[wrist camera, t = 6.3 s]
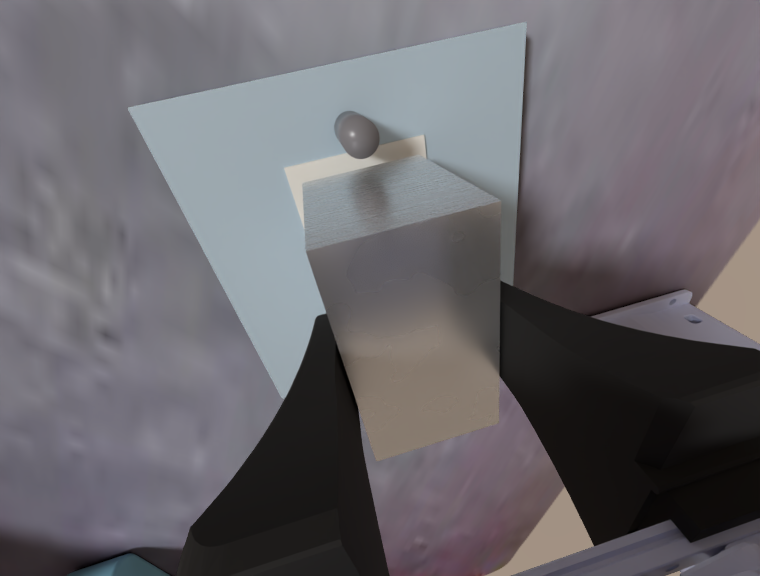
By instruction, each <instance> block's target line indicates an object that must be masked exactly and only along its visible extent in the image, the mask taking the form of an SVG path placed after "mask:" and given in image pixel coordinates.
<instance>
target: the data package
mask: <svg viewBox="0 0 760 576" xmlns="http://www.w3.org/2000/svg"><path fill="white" fill-rule="evenodd" d="M67 576H170V575H169V574H167V573H165V572H164V571H162V570H160V569H159V568H157V567H155V566H154V565H152V564H150V563H149V562H147V561H145V560H144V559H142V558H141V557H139V556H137V555H135V554H132V553H129V554H125V555H122V556H119V557H116V558H113V559H110V560H107V561H104V562H101V563H98V564H95V565H92V566H89V567H86V568H83V569H80V570H77V571H74V572H72V573H70V574H68V575H67Z"/></svg>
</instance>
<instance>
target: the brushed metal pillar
mask: <svg viewBox="0 0 760 576" xmlns="http://www.w3.org/2000/svg"><path fill="white" fill-rule="evenodd" d="M302 190H303V209H304V229H305V248H306V254H307V257H308V260H309V263H310V266H311V269H312V272H313V275H314V278H315V281H316V284H317V287H318V289H319V292H320V295H321V298H322V301H323V304H324V307H325V310H326V313H327V316H328V319H329V322H330V325H331V328H332V331H333V334H334V337H335V340H336V343H337V346H338V349H339V352H340V355H341V358H342V361H343V364H344V366H345V369H346V372H347V375H348V378H349V381H350V384H351V387H352V390H353V393H354V396H355V399H356V402H357V405H358V408H359V411H360V414H361V417H362V420H363V423H364V426H365V429H366V432H367V435H368V438H369V441H370V443H371V446H372V449H373V452H374V455H375V458H376V461H380V460H383V459H386V458H389V457H392V456H396V455H399V454H402V453H405V452H408V451H412V450H415V449H418V448H421V447H424V446H427V445H431V444H434V443H437V442H440V441H443V440H447V439H450V438H453V437H456V436H459V435H462V434H466V433H469V432H472V431H475V430H478V429H482V428H485V427H488V426H491V425H494V424H498V423H499V362H500V272H501V200H499V199H497V198H495V197H494V196H492V195H490V194H488V193H486V192H485V191H483V190H481V189H479V188H478V187H476V186H474V185H472V184H470V183H469V182H467V181H465V180H463V179H462V178H460V177H458V176H456V175H454V174H453V173H451V172H449V171H447V170H446V169H444V168H442V167H440V166H438V165H437V164H435V163H433V162H431V161H430V160H428V159H426V158H424V157H422V156H421V155H415V156H411V157H407V158H403V159H399V160H394V161H390V162H386V163H382V164H378V165H374V166H370V167H366V168H361V169H357V170H353V171H349V172H345V173H341V174H337V175H333V176H328V177H324V178H320V179H316V180H312V181H308V182H304V183H302Z"/></svg>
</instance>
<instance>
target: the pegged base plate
mask: <svg viewBox="0 0 760 576" xmlns="http://www.w3.org/2000/svg"><path fill="white" fill-rule="evenodd" d="M526 26H527V22H523V23H518V24H514V25H509V26H504V27H500V28H495V29H490V30H486V31H481V32H476V33H472V34H467V35H463V36H458V37H453V38H449V39H444V40H439V41H435V42H430V43H425V44H421V45H416V46H412V47H407V48H402V49H398V50H393V51H388V52H384V53H379V54H374V55H370V56H365V57H361V58H356V59H351V60H347V61H342V62H337V63H333V64H328V65H323V66H319V67H314V68H310V69H305V70H300V71H296V72H291V73H286V74H282V75H277V76H272V77H268V78H263V79H259V80H254V81H249V82H245V83H240V84H235V85H231V86H226V87H221V88H217V89H212V90H208V91H203V92H198V93H194V94H189V95H184V96H180V97H175V98H170V99H166V100H161V101H157V102H152V103H147V104H143V105H138V106H133V107H129V108H128V110H129V112H130V114H131V115H132V117H133V119H134V121H135V123H136V125H137V127H138V129H139V131H140V132H141V134H142V136H143V138H144V140H145V142H146V144H147V146H148V147H149V149H150V151H151V153H152V155H153V157H154V159H155V161H156V162H157V164H158V166H159V168H160V170H161V172H162V174H163V176H164V178H165V179H166V181H167V183H168V185H169V187H170V189H171V191H172V193H173V194H174V196H175V198H176V200H177V202H178V204H179V206H180V208H181V209H182V211H183V213H184V215H185V217H186V219H187V221H188V223H189V225H190V226H191V228H192V230H193V232H194V234H195V236H196V238H197V240H198V241H199V243H200V245H201V247H202V249H203V251H204V253H205V255H206V256H207V258H208V260H209V262H210V264H211V266H212V268H213V270H214V272H215V273H216V275H217V277H218V279H219V281H220V283H221V285H222V287H223V288H224V290H225V292H226V294H227V296H228V298H229V300H230V302H231V303H232V305H233V307H234V309H235V311H236V313H237V315H238V317H239V319H240V320H241V322H242V324H243V326H244V328H245V330H246V332H247V334H248V335H249V337H250V339H251V341H252V343H253V345H254V347H255V349H256V350H257V352H258V354H259V356H260V358H261V360H262V362H263V364H264V366H265V367H266V369H267V371H268V373H269V375H270V377H271V379H272V381H273V382H274V384H275V386H276V388H277V390H278V392H279V394H280V396H281V397H282V399H283V398H286V396H287V394H288V392H289V390H290V388H291V386H292V383H293V381H294V379H295V376H296V374H297V372H298V370H299V367H300V365H301V362H302V360H303V357H304V354H305V352H306V349H307V346H308V343H309V340H310V337H311V333H312V330H313V326H314V321H315V319H316V317H317V316H318V315H322V314H326V310H325V307H324V304H323V301H322V298H321V295H320V292H319V289H318V287H317V284H316V281H315V278H314V275H313V272H312V269H311V266H310V263H309V260H308V257H307V254H306V248H305V229H304V209H303V190H302V183H304V182H308V181H312V180H316V179H320V178H324V177H328V176H333V175H337V174H341V173H345V172H349V171H353V170H357V169H361V168H366V167H370V166H374V165H378V164H382V163H386V162H390V161H394V160H399V159H403V158H407V157H411V156H415V155H421V156H422V157H424V158H426V159H428V160H430V161H431V162H433V163H435V164H437V165H438V166H440V167H442V168H444V169H446V170H447V171H449V172H451V173H453V174H454V175H456V176H458V177H460V178H462V179H463V180H465V181H467V182H469V183H470V184H472V185H474V186H476V187H478V188H479V189H481V190H483V191H485V192H486V193H488V194H490V195H492V196H494V197H495V198H497V199H499V200H501V272H500V280H501V281H503V282H505V283H507V284H509V285H511V286H513V279H514V259H515V240H516V220H517V201H518V181H519V162H520V142H521V123H522V103H523V84H524V65H525V45H526Z"/></svg>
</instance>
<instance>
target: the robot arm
mask: <svg viewBox="0 0 760 576" xmlns="http://www.w3.org/2000/svg"><path fill="white" fill-rule="evenodd" d="M691 297H692V292H690V291H688V290H686V289H684V290H680V291H677V292H673V293H670V294H666V295H663V296H659V297H656V298H653V299H649V300H646V301H642V302H639V303H636V304H632V305H629V306H625V307H622V308H618V309H615V310H612V311H608V312H605V313H601V314H598V315H595V316H591V317H589V316H586V315H583V314H580V313H577V312H574V311H571V310H568V309H565V308H563V307H560V306H558V305H555V304H552V303H550V302H547V301H545V300H543V299H540V298H538V297H535V296H533V295H531V294H529V293H526V292H524V291H522V290H520V289H518V288H515V287H513V286H511V285H509V284H507V283H505V282H503V281H501V280H500V362H499V376H500V377H501V378H502V380H503V381H504V383H505V384H506V385H507V387H508V388H509V389H510V391H511V392H512V394H513V395H514V396H515V398H516V400H517V401H518V403H519V404H520V406H521V407H522V409H523V411H524V412H525V414H526V416H527V417H528V419H529V421H530V423H531V424H532V426H533V428H534V430H535V431H536V433H537V435H538V437H539V439H540V440H541V442H542V444H543V446H544V448H545V450H546V451H547V453H548V455H549V457H550V459H551V460H552V462H553V464H554V466H555V468H556V470H557V472H558V474H559V476H560V478H561V480H562V482H563V484H564V485H565V487H566V489H567V491H568V493H569V495H570V497H571V499H572V501H573V503H574V505H575V507H576V509H577V511H578V513H579V516H580V518H581V519H582V521H583V524H584V526H585V528H586V530H587V532H588V534H589V536H590V538H591V540H592V543H593V545H594V547H591V548H588V549H585V550H583V551H580V552H577V553H574V554H571V555H568V556H566V557H563V558H560V559H557V560H554V561H551V562H549V563H546V564H543V565H540V566H537V567H534V568H532V569H529V570H526V571H523V572H520V573H517V574H515V575H512V576H666V575H669V574H671V573H674V572H677V571H680V572H681V574H680V576H760V344H759V343H757V342H755V341H753V340H752V339H750V338H748V337H746V336H745V335H743V334H741V333H740V332H738V331H736V330H734V329H733V328H731V327H729V326H727V325H726V324H724V323H722V322H721V321H719V320H717V319H715V318H714V317H712V316H710V315H708V314H707V313H705V312H703V311H702V310H700V309H698V308H696V307H695V306H693V305H691V304H690V303H689V302H690V300H691ZM176 576H389V572H388V567H387V563H386V558H385V553H384V549H383V544H382V540H381V535H380V530H379V526H378V521H377V516H376V512H375V507H374V502H373V497H372V493H371V488H370V483H369V478H368V473H367V468H366V463H365V458H364V453H363V446H362V438H361V429H360V420H359V411H358V405H357V402H356V399H355V396H354V393H353V390H352V387H351V384H350V381H349V378H348V375H347V372H346V369H345V366H344V364H343V361H342V358H341V355H340V352H339V349H338V346H337V343H336V340H335V337H334V334H333V331H332V328H331V325H330V322H329V319H328V316H327V313H326V314H322V315H318V316H317V317H316V319H315V321H314V326H313V330H312V333H311V337H310V340H309V343H308V346H307V349H306V352H305V354H304V357H303V360H302V362H301V365H300V367H299V370H298V372H297V374H296V376H295V379H294V381H293V383H292V386H291V388H290V390H289V392H288V394H287V396H286V398H285V400H284V401H283V403H282V405H281V407H280V409H279V410H278V412H277V414H276V416H275V417H274V419H273V421H272V422H271V424H270V426H269V427H268V429H267V430H266V432H265V434H264V435H263V437H262V438H261V440H260V441H259V443H258V444H257V446H256V447H255V449H254V450H253V451H252V453H251V454H250V455H249V457H248V458H247V459H246V461H245V462H244V464H243V465H242V466H241V468H240V469H239V470H238V472H237V473H236V474H235V476H234V477H233V478H232V480H231V481H230V482H229V483H228V485H227V486H226V487H225V488H224V490H223V491H222V492H221V493H220V494H219V495H218V496H217V498H216V499H215V500H214V501H213V502H212V503H211V505H210V506H209V507H208V508H207V509H206V510H205V512H204V513H203V514H202V515H201V516H200V517H199V518H198V520H197V521H196V522H195V523H194V524H193V525H192V526H191V527H190V530H189V533H188V537H187V540H186V543H185V545H184V548H183V551H182V555H181V558H180V562H179V566H178V570H177V574H176Z"/></svg>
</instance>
